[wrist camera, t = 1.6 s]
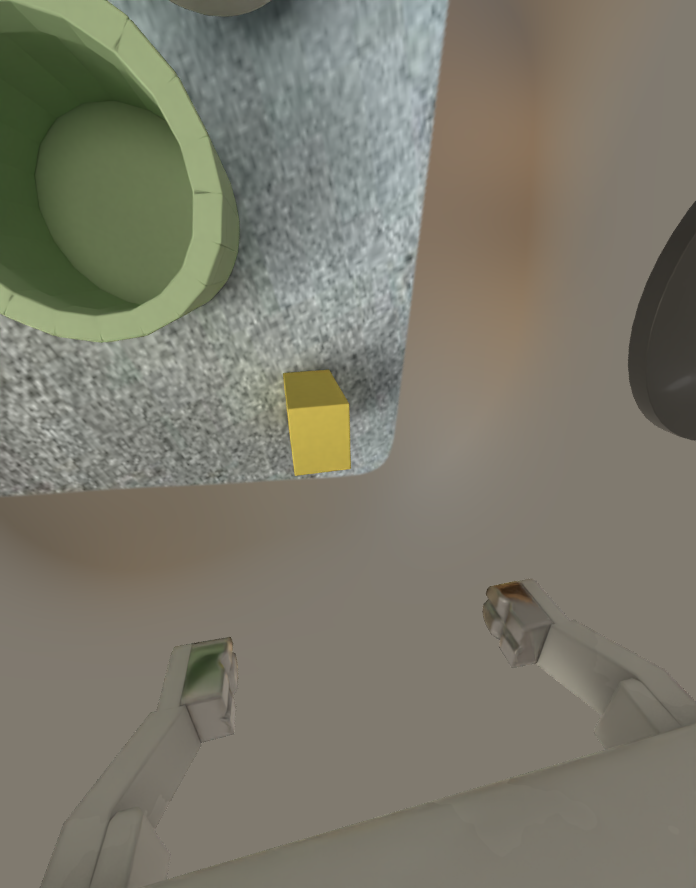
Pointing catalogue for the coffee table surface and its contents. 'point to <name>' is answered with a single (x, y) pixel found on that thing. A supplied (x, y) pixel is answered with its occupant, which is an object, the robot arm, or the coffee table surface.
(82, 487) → the coffee table surface
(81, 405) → the coffee table surface
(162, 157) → the jar
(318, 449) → the sponge
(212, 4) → the teacup
